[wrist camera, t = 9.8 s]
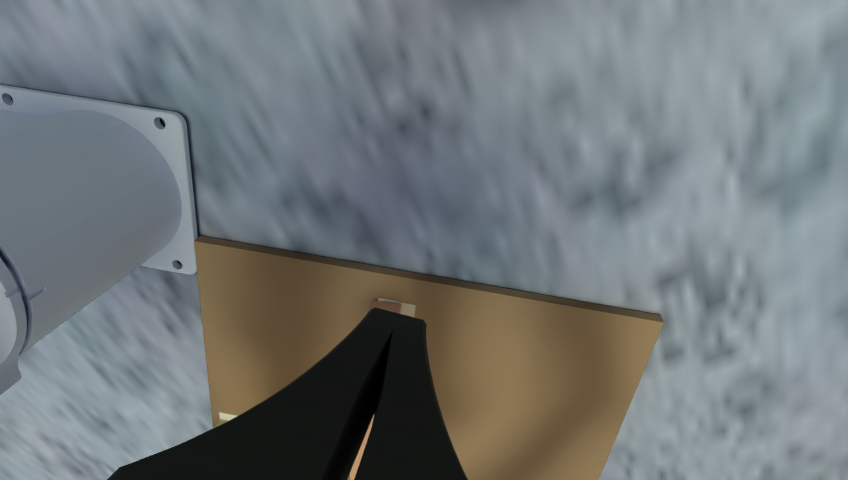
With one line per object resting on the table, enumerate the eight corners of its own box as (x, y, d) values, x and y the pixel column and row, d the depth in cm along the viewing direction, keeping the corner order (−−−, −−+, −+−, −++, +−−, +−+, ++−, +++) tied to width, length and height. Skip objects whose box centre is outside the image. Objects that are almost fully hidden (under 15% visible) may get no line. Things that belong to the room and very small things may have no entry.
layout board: (224, 481, 32) (219, 490, 31) (200, 235, 24) (192, 241, 23) (563, 551, 31) (564, 562, 30) (659, 314, 22) (664, 323, 22)
